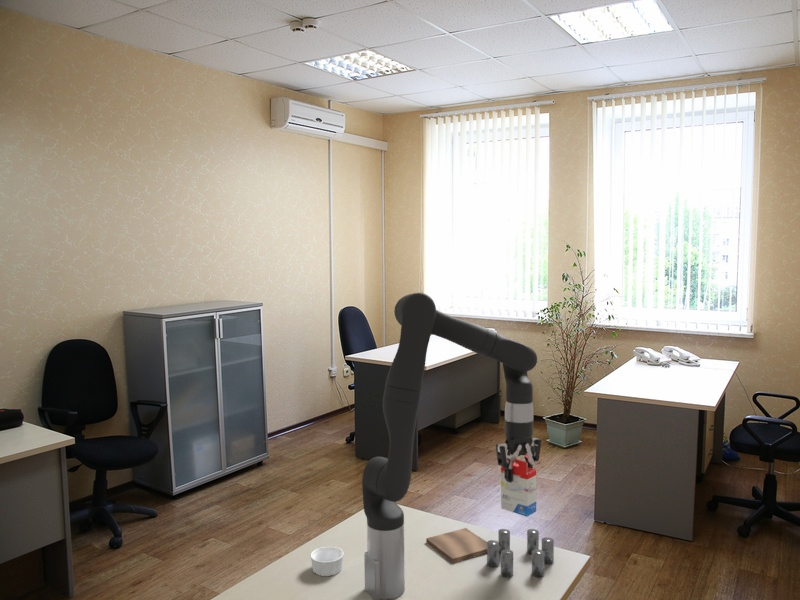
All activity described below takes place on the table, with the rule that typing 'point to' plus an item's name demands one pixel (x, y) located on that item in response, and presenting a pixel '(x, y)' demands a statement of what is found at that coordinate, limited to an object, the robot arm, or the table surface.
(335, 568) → the ramekin
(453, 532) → the walnut board
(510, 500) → the ink box
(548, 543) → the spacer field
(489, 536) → the table surface
